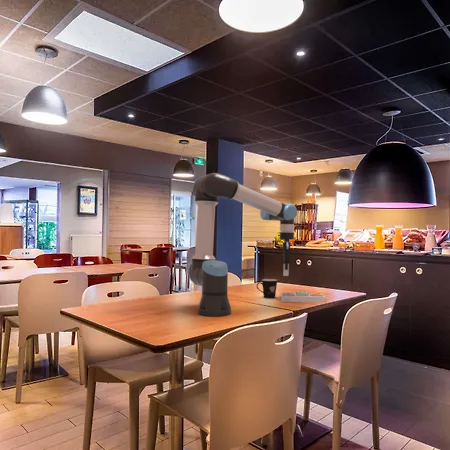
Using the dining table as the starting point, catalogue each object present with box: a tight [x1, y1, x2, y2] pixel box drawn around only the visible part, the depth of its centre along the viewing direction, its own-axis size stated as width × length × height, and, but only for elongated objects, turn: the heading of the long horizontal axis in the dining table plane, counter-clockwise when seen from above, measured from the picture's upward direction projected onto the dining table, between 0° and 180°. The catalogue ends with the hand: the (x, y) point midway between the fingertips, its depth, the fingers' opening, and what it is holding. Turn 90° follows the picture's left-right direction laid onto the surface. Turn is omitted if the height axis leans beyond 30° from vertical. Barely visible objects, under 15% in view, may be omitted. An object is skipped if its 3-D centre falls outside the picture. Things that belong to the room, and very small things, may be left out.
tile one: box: [281, 292, 295, 296], centre depth 212 cm, size 6×6×3 cm
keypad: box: [279, 292, 326, 304], centre depth 211 cm, size 23×10×3 cm, turn 86°
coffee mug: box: [256, 278, 278, 300], centre depth 220 cm, size 12×9×10 cm
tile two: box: [295, 290, 310, 296], centre depth 212 cm, size 6×6×3 cm
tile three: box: [309, 292, 324, 296], centre depth 211 cm, size 6×6×3 cm
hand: (285, 275), depth 211 cm, fingers closed
